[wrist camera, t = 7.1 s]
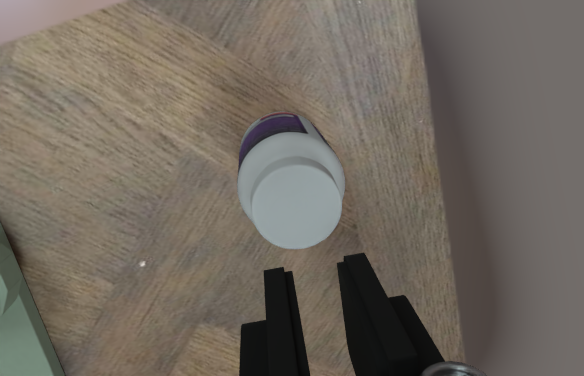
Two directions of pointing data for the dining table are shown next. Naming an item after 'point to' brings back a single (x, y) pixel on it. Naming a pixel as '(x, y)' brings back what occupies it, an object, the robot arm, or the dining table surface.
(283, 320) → the robot arm
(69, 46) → the dining table surface
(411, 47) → the dining table surface
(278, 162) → the pill bottle
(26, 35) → the dining table surface
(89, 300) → the dining table surface
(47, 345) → the green dial board
